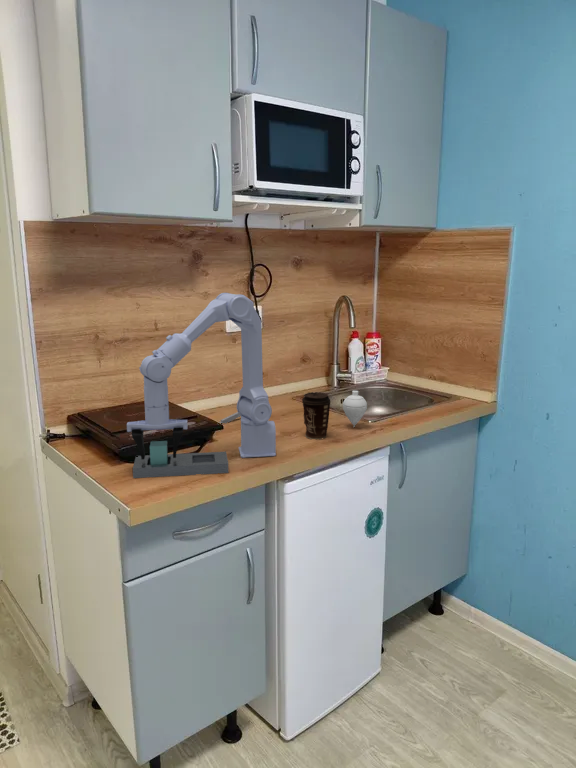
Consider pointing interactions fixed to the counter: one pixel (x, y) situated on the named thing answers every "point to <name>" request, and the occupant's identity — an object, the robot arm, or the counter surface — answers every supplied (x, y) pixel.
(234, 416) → the caliper
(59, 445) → the counter surface
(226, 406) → the counter surface
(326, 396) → the coffee cup
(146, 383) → the robot arm
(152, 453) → the square peg
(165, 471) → the peg socket board
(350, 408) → the spinning top
